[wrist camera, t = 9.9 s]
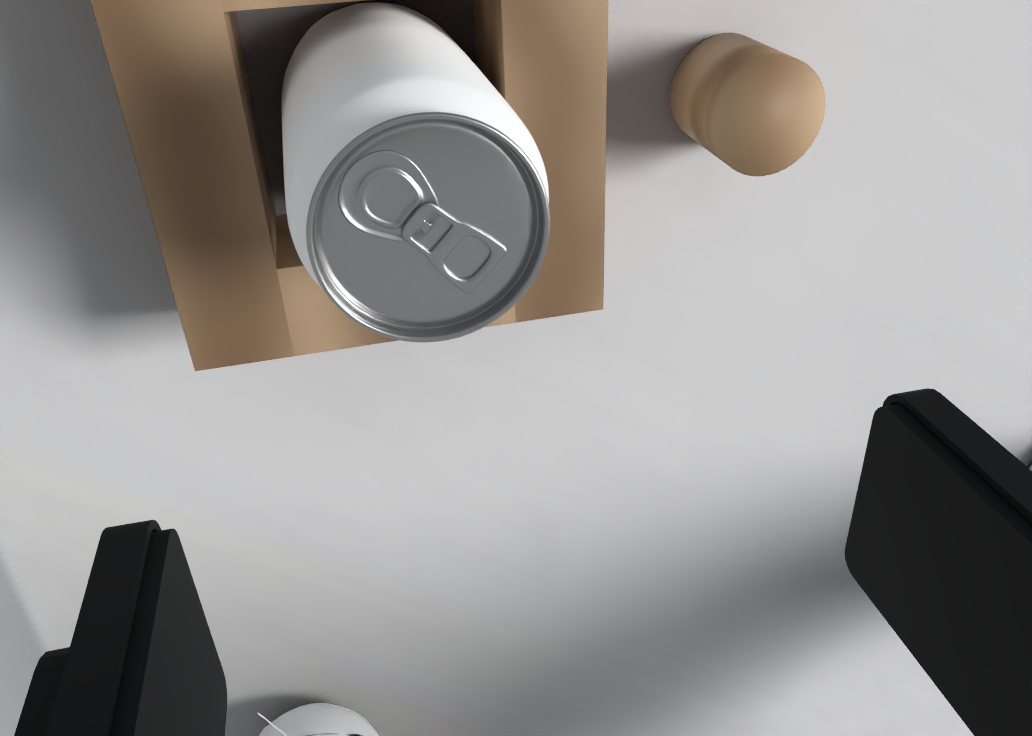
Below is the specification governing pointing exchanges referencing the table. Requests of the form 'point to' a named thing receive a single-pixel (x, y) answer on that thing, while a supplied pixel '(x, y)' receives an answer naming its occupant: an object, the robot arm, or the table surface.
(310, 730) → the white rounded egg-shaped part
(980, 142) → the table surface
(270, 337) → the wooden rectangular frame
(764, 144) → the peg short
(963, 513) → the robot arm
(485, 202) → the can
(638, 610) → the table surface
